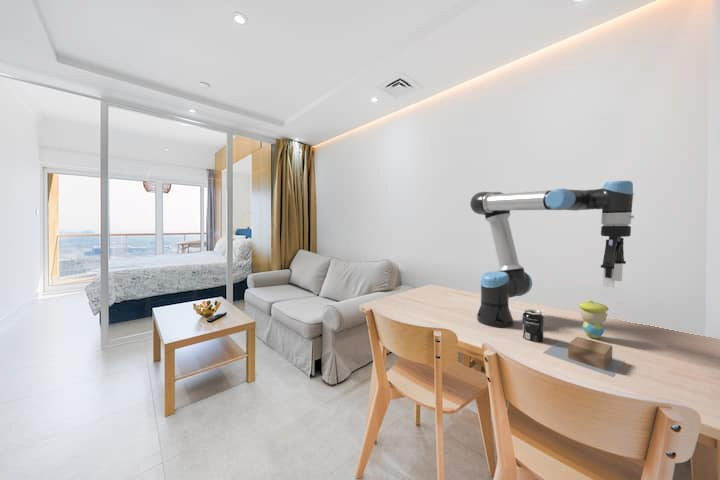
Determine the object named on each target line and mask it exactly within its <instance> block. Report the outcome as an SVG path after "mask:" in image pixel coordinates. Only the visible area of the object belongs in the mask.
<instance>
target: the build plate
mask: <svg viewBox="0 0 720 480" xmlns="http://www.w3.org/2000/svg"><path fill="white" fill-rule="evenodd" d="M542 354H545V355H548V356H550V357H553V358H557V359H559V360H562V361H566V362H568V363H571V364H575V365H577V366H580V367H583V368H586V369H589V370H591V371H594V372H598V373H601V374H604V375H607V376H609V377H613V378H614V377H615V375H616V374H617V373H618V371H619V370H620V369H621V367H622V366H623V365H624V364H625V362H626V361H625V360H620V359H618V358H615V357H612V361H611V363H610V364H609V365H608V366H607V367H606V369H605V370H602V369H599V368H596V367H593V366H590V365H587V364H584V363H581V362H578V361H575V360H572V359H569V358H568V344H567V343H564V342H560V341H557V342H556V343H554V344H553V345H552V346H550V347H548V348H547V349H546V350H544V351H543V352H542Z"/></svg>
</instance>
